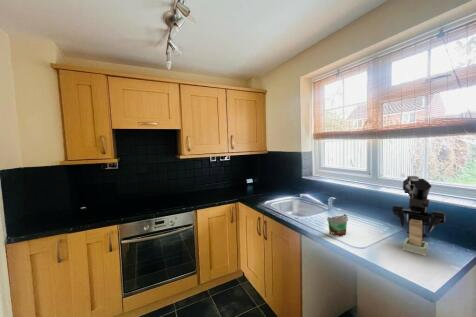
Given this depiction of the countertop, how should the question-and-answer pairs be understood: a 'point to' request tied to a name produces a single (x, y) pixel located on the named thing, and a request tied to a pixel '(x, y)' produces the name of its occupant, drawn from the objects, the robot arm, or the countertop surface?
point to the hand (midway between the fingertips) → (415, 229)
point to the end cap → (415, 247)
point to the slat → (415, 232)
